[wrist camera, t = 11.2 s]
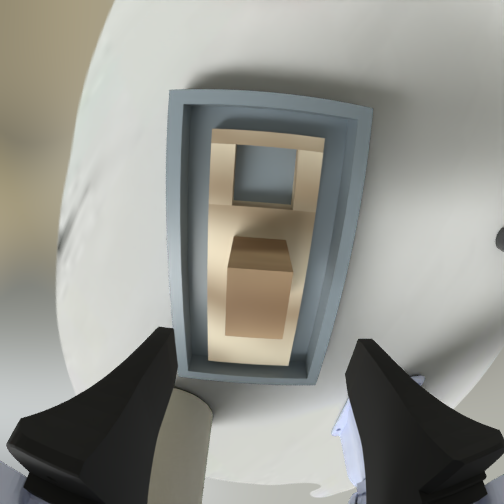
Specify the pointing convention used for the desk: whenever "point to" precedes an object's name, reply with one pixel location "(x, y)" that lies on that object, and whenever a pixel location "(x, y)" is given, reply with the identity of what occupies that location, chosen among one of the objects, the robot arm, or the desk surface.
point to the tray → (268, 191)
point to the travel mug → (181, 451)
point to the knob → (500, 240)
